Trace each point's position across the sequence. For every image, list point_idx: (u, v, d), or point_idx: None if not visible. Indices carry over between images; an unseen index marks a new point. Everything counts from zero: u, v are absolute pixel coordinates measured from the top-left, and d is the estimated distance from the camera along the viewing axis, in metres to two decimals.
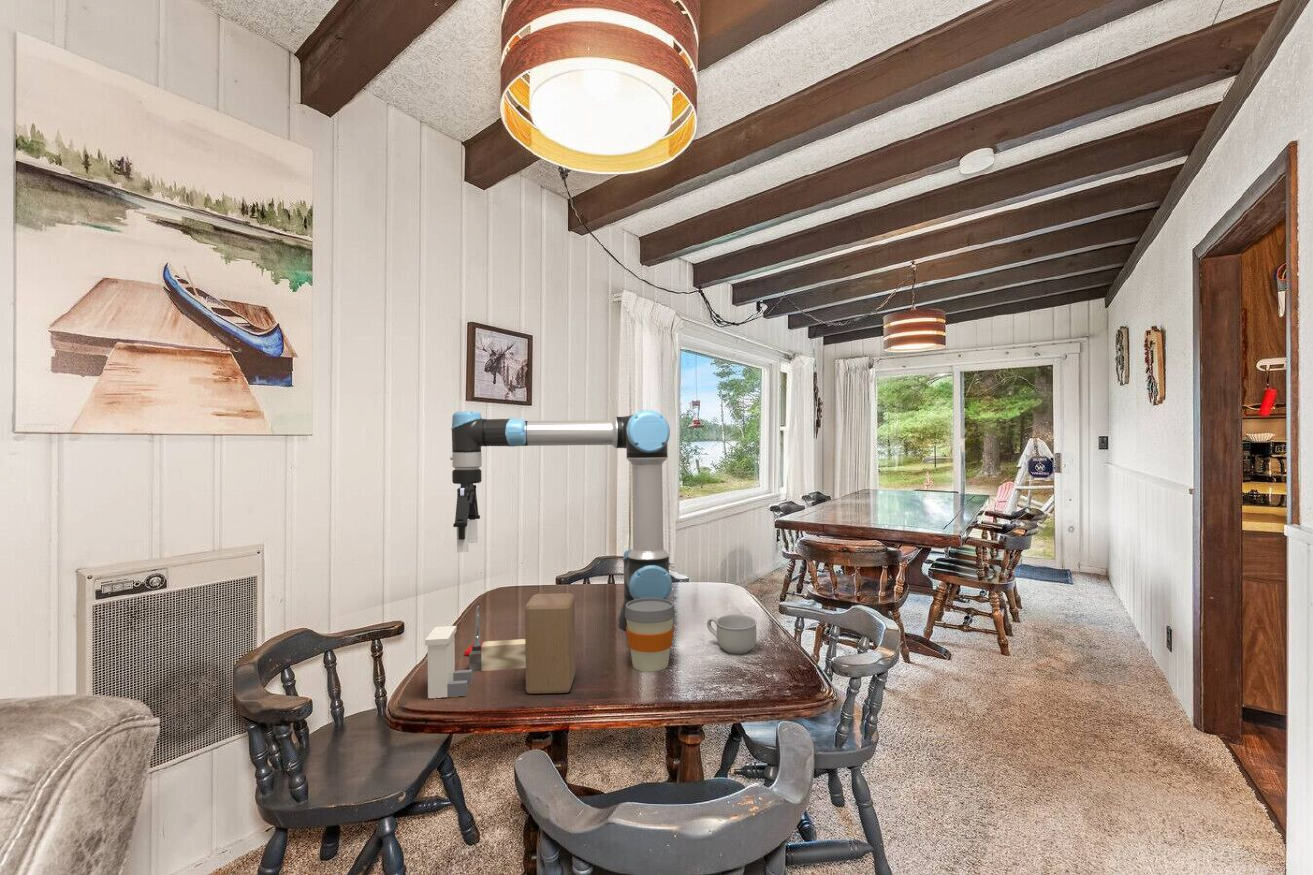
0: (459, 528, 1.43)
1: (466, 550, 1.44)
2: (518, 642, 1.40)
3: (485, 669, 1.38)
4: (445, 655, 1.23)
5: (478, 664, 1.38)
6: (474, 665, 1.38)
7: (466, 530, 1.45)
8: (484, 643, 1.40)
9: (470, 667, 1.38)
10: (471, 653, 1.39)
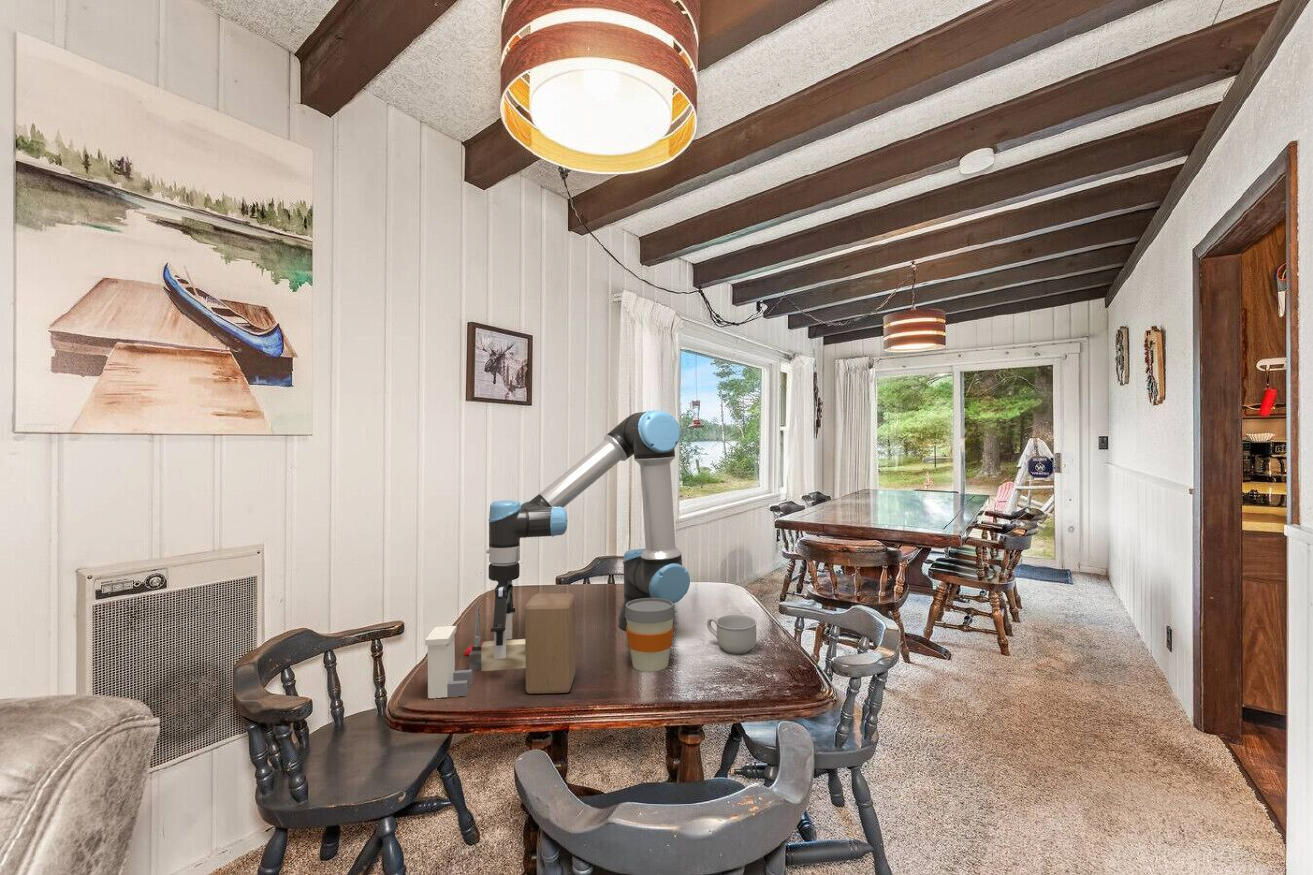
0: (497, 633, 1.32)
1: (503, 657, 1.33)
2: (518, 642, 1.40)
3: (485, 669, 1.38)
4: (445, 655, 1.23)
5: (478, 664, 1.38)
6: (474, 665, 1.38)
7: (504, 634, 1.33)
8: (484, 643, 1.40)
9: (470, 667, 1.38)
10: (471, 653, 1.39)
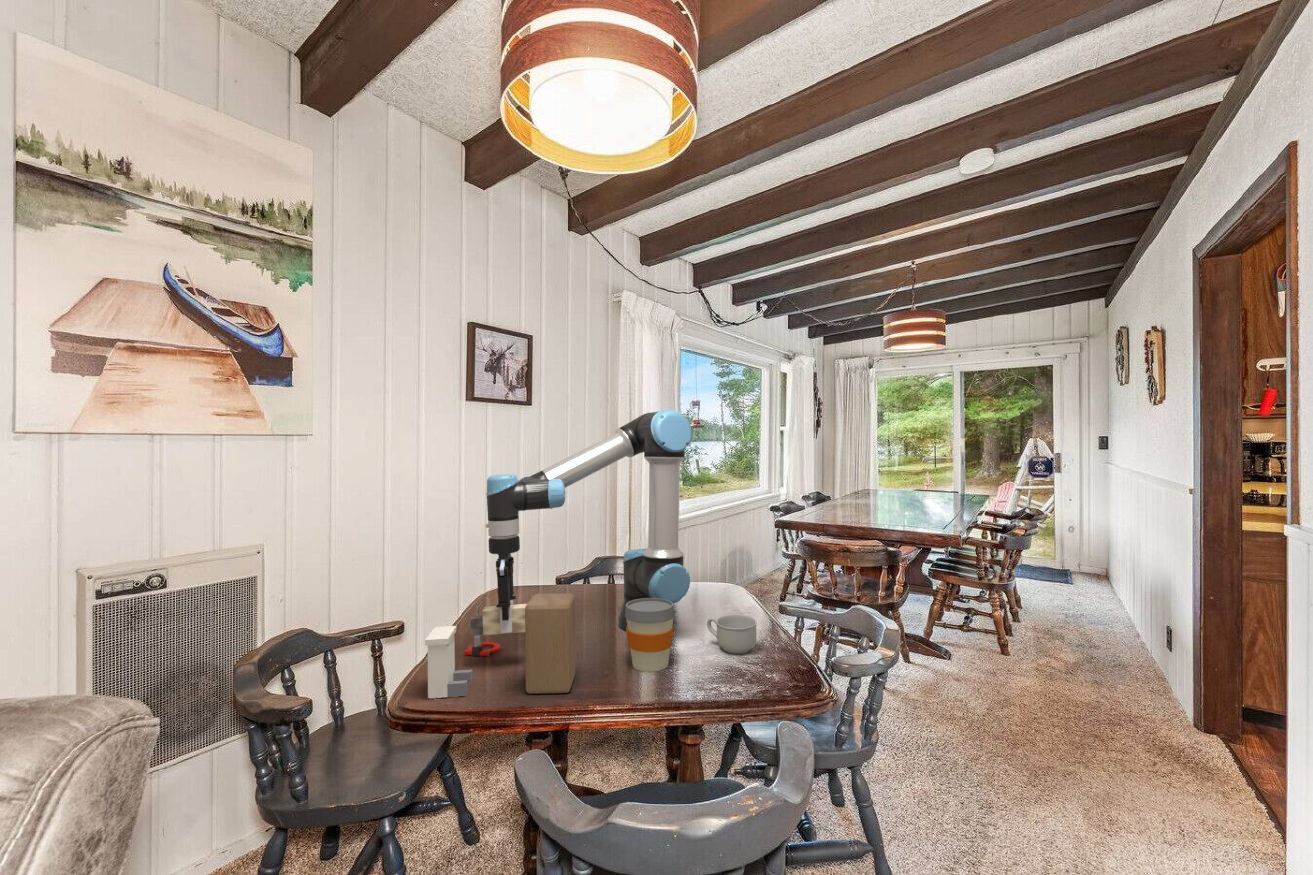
0: (502, 608, 1.37)
1: (510, 631, 1.38)
2: (519, 607, 1.40)
3: (487, 633, 1.38)
4: (445, 655, 1.23)
5: (480, 628, 1.38)
6: (476, 629, 1.38)
7: (509, 610, 1.38)
8: (485, 608, 1.40)
9: (472, 631, 1.38)
10: (472, 618, 1.39)
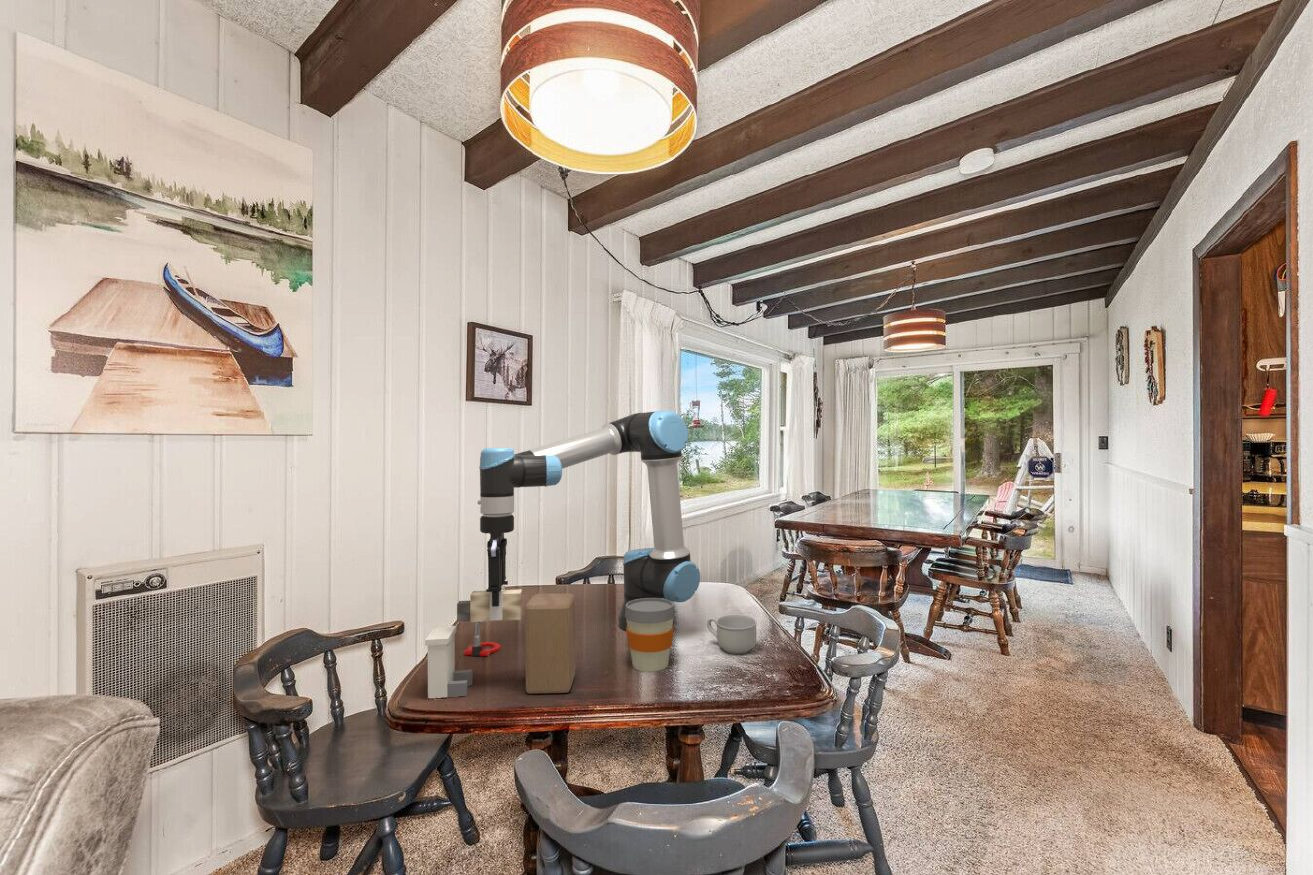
0: (493, 593, 1.25)
1: (500, 618, 1.26)
2: (511, 592, 1.28)
3: (474, 620, 1.26)
4: (445, 655, 1.23)
5: (467, 614, 1.26)
6: (462, 615, 1.26)
7: (500, 595, 1.26)
8: (474, 592, 1.28)
9: (458, 617, 1.26)
10: (459, 602, 1.27)
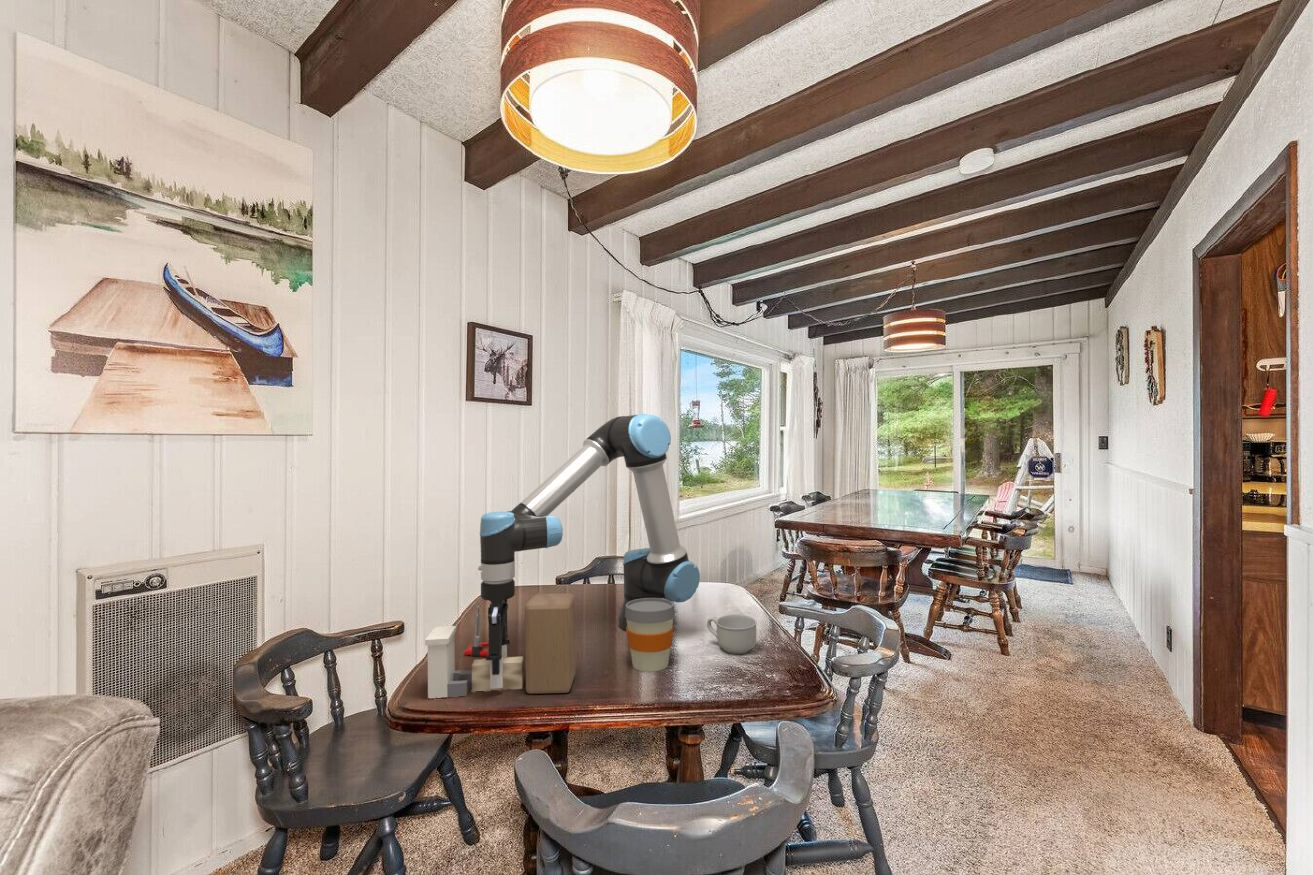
0: (493, 662, 1.23)
1: (500, 686, 1.24)
2: (513, 661, 1.28)
3: (476, 690, 1.26)
4: (445, 655, 1.23)
5: (468, 684, 1.26)
6: None
7: (501, 662, 1.24)
8: (475, 661, 1.28)
9: None
10: (461, 672, 1.27)
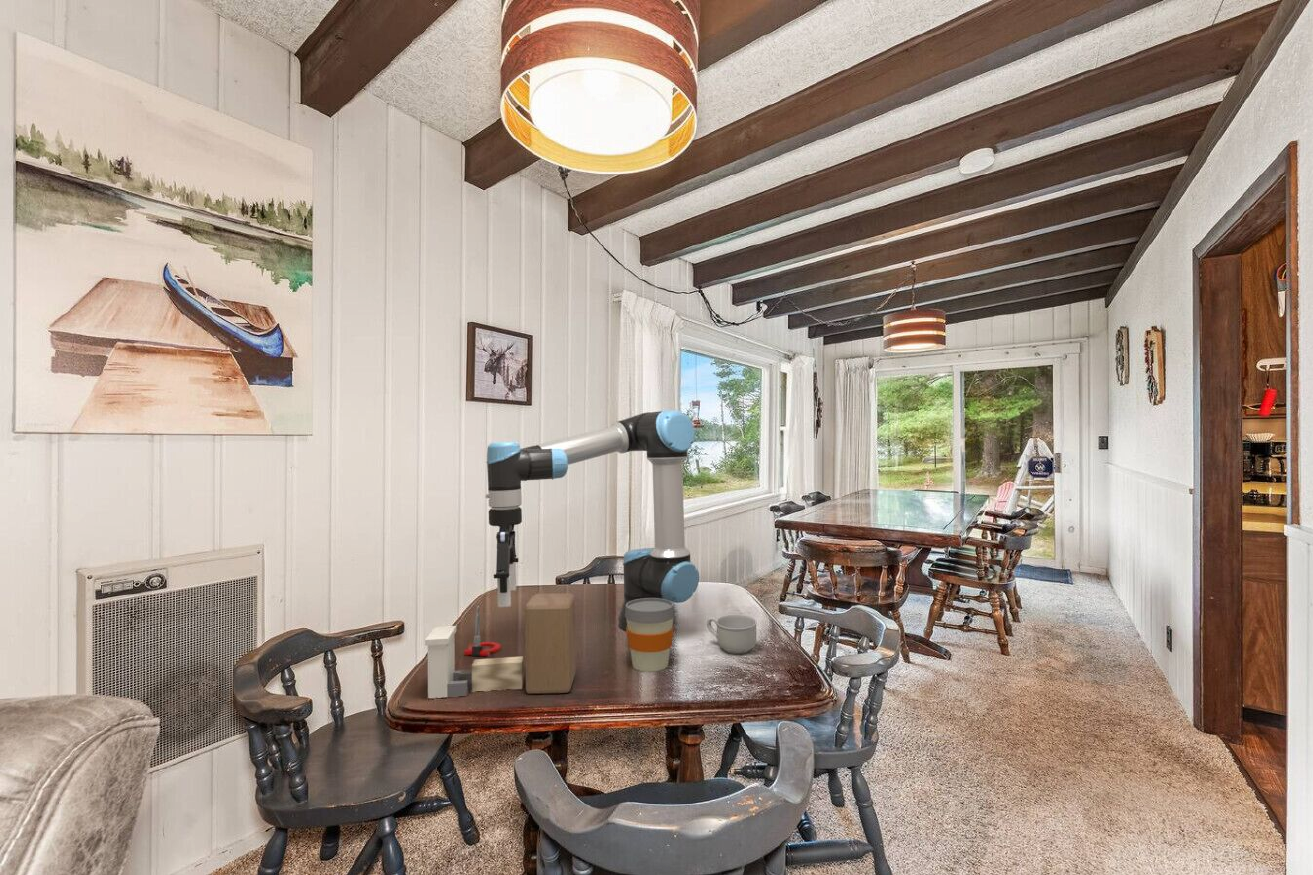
0: (500, 580, 1.23)
1: (508, 605, 1.25)
2: (513, 661, 1.28)
3: (476, 690, 1.26)
4: (445, 655, 1.23)
5: (468, 684, 1.26)
6: None
7: (508, 581, 1.25)
8: (475, 661, 1.28)
9: None
10: (461, 672, 1.27)
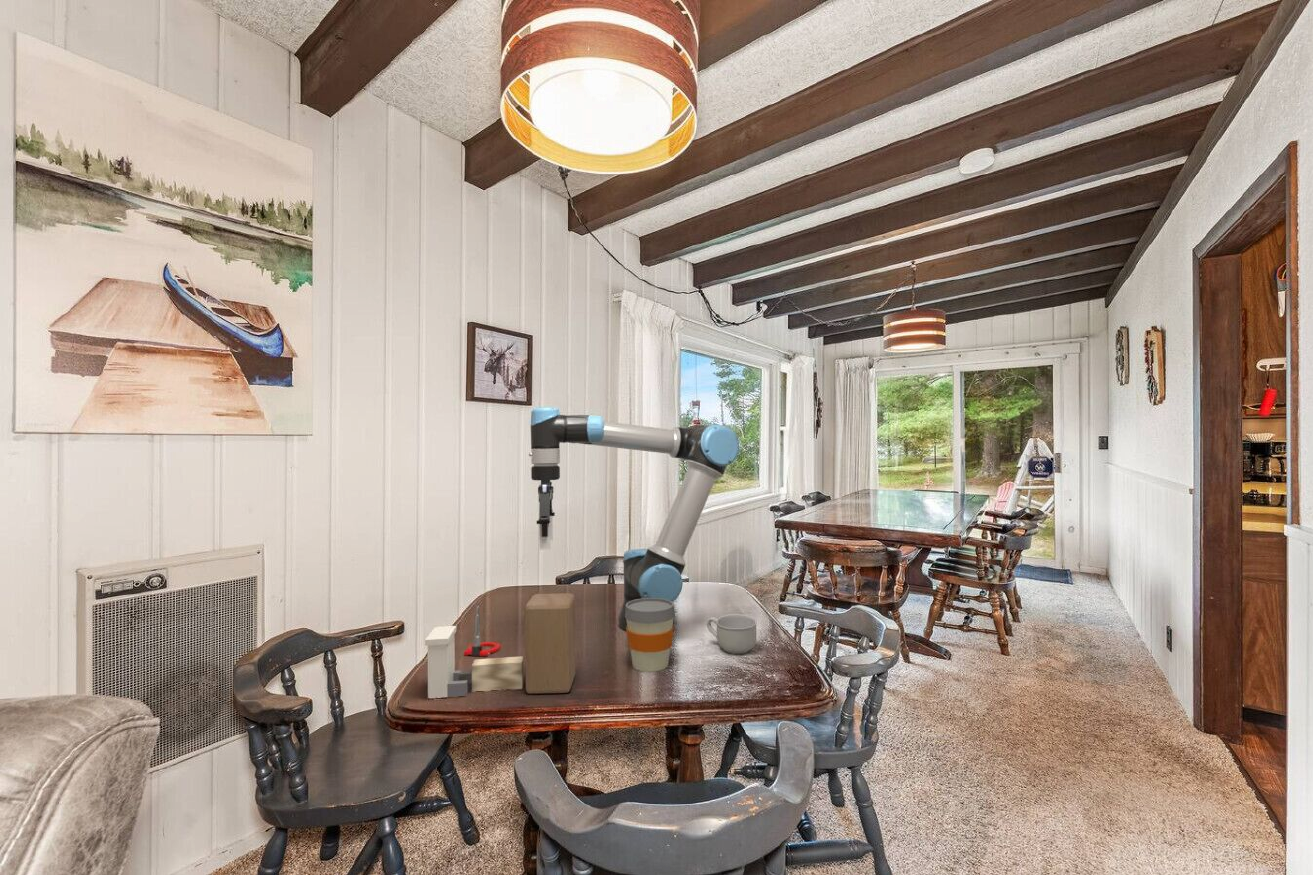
0: (542, 525, 1.42)
1: (548, 548, 1.43)
2: (513, 661, 1.28)
3: (476, 690, 1.26)
4: (445, 655, 1.23)
5: (468, 684, 1.26)
6: None
7: (549, 527, 1.43)
8: (475, 661, 1.28)
9: None
10: (461, 672, 1.27)
